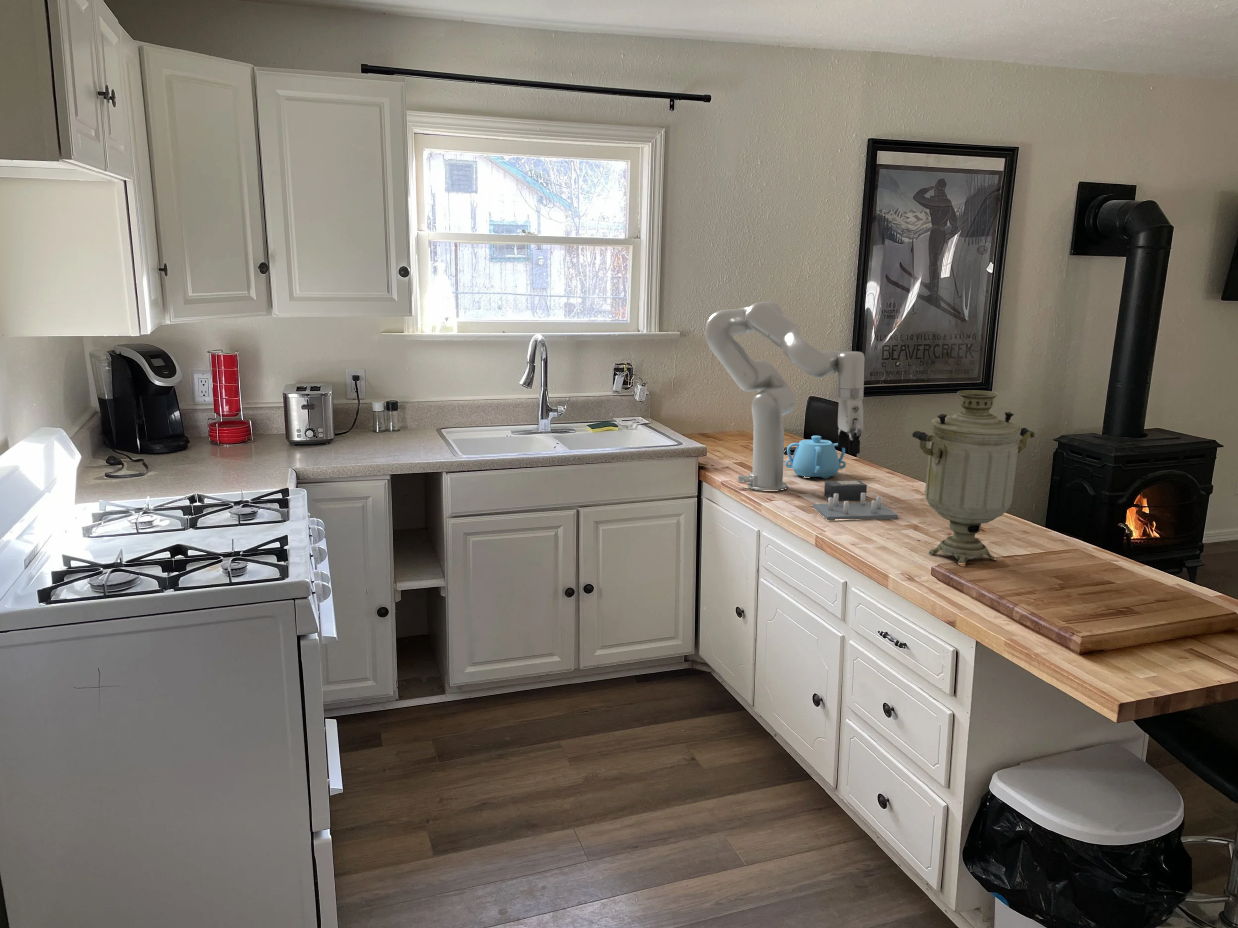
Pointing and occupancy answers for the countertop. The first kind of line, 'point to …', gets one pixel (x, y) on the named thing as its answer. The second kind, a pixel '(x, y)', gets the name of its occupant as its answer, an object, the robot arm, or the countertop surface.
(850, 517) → the peg board
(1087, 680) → the countertop surface
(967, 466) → the samovar
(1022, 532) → the countertop surface
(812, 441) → the decorative pot
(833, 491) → the drive
